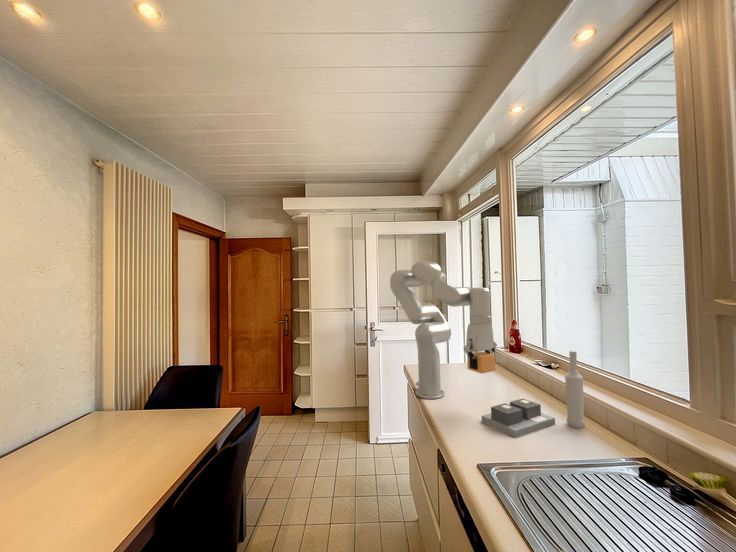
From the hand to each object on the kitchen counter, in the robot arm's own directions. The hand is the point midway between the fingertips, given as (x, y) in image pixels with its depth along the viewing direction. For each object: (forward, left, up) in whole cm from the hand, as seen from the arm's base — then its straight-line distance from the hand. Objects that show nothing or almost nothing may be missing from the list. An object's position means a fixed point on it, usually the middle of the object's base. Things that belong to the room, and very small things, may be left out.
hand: (481, 366), depth 123 cm
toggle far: (+12, +8, -15) cm, 21 cm away
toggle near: (+12, -1, -15) cm, 19 cm away
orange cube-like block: (0, 0, -1) cm, 1 cm away
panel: (+12, +4, -17) cm, 22 cm away
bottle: (+23, +19, -17) cm, 35 cm away
